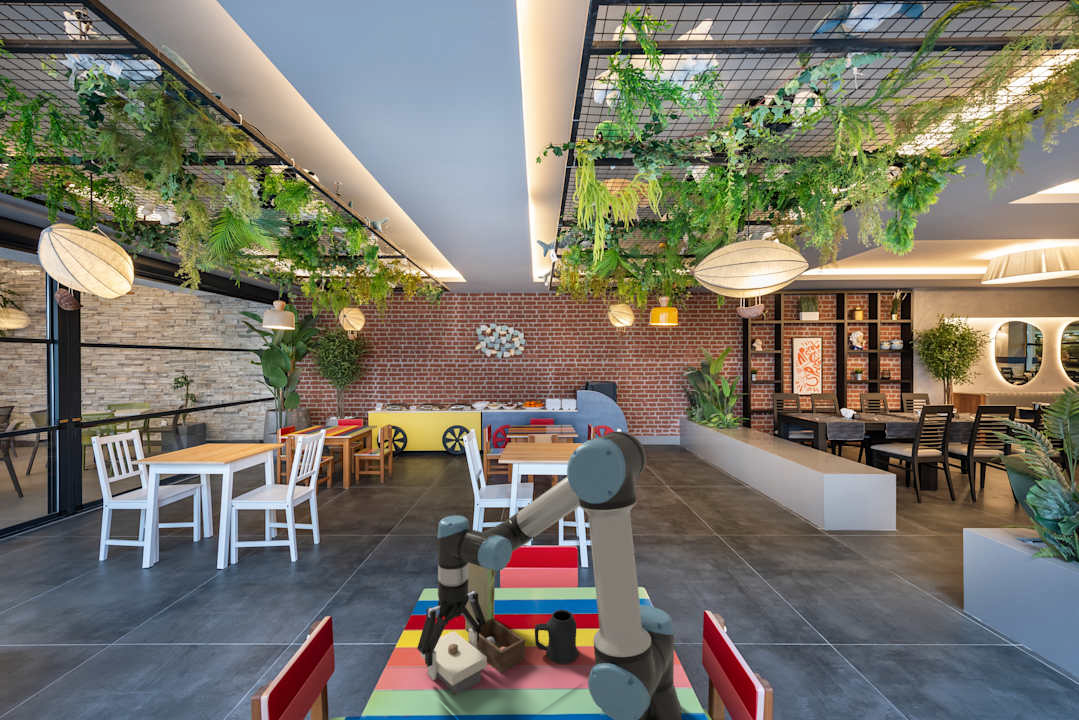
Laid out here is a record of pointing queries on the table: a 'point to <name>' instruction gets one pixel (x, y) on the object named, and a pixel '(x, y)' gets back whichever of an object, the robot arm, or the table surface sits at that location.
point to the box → (503, 638)
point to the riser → (462, 682)
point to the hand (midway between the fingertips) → (453, 665)
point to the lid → (457, 658)
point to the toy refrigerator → (481, 591)
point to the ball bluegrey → (491, 640)
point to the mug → (559, 637)
